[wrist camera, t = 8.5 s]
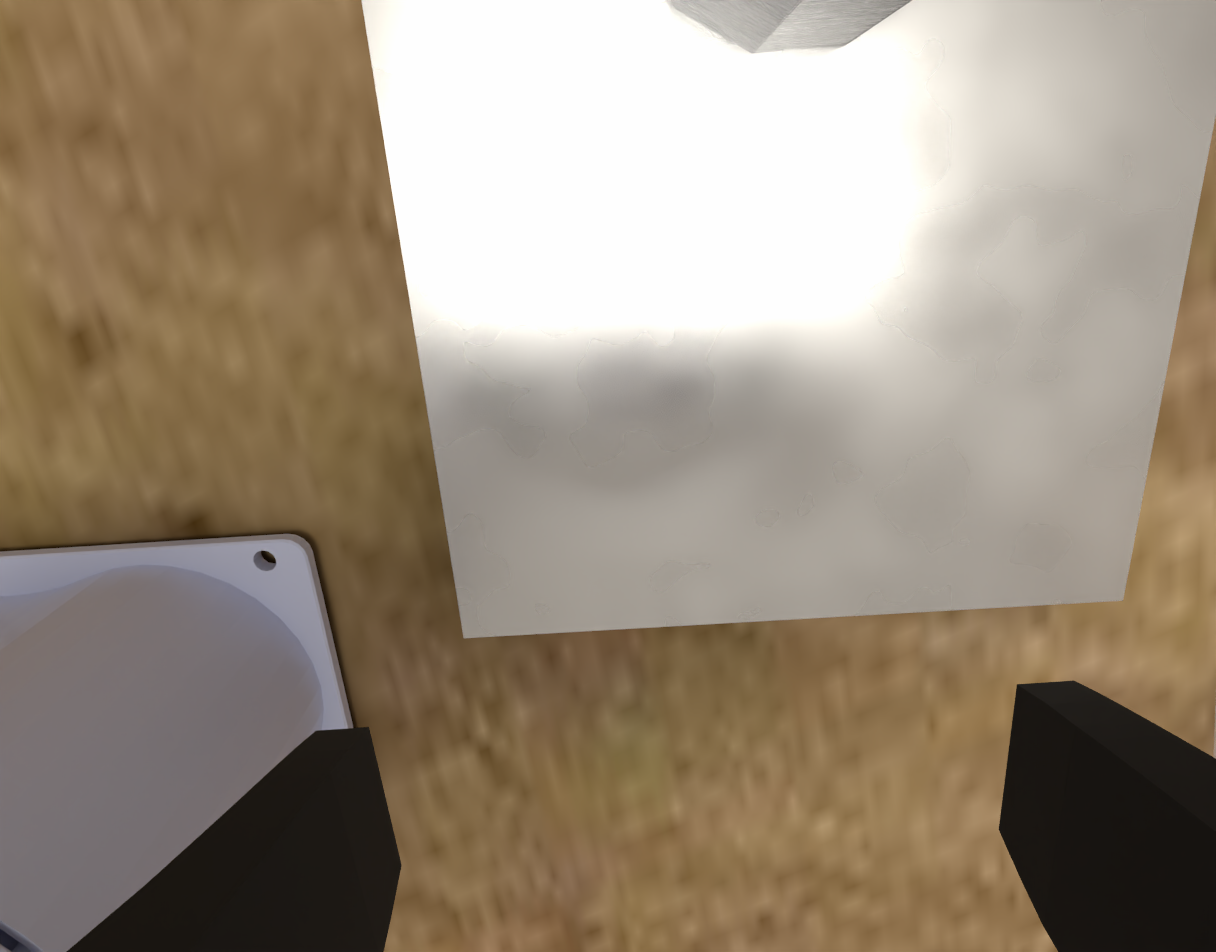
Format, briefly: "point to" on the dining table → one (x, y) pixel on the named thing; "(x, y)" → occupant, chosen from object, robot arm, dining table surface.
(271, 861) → the robot arm
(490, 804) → the dining table surface
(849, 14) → the iron ring
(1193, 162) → the post stand
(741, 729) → the dining table surface
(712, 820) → the dining table surface
